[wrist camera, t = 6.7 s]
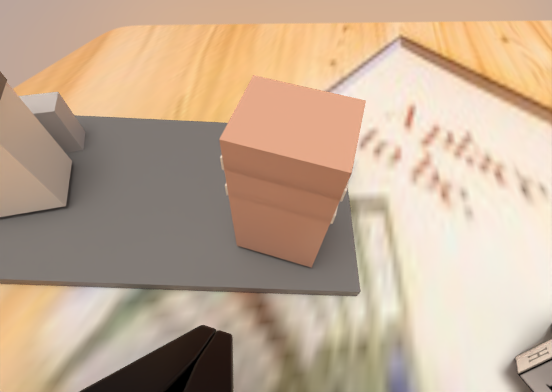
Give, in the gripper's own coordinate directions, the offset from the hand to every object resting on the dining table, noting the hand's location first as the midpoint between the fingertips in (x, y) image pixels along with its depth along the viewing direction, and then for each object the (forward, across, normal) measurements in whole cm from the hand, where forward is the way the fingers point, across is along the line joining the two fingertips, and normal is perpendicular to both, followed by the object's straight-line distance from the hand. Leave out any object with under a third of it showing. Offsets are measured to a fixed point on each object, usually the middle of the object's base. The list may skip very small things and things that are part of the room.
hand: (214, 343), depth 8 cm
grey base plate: (+14, +9, +1) cm, 17 cm away
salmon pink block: (+13, 0, +1) cm, 13 cm away
